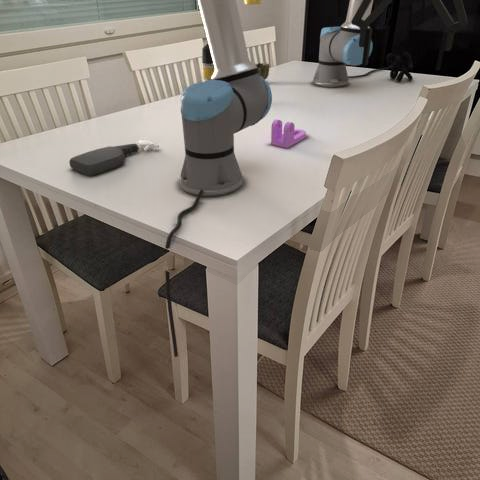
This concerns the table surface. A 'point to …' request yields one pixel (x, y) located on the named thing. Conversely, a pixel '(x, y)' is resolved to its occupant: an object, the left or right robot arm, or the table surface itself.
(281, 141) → the bracket
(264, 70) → the cup
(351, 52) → the right robot arm
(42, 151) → the table surface
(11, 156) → the table surface
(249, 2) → the canister
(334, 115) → the table surface
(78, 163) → the spray bottle
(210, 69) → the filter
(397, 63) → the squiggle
